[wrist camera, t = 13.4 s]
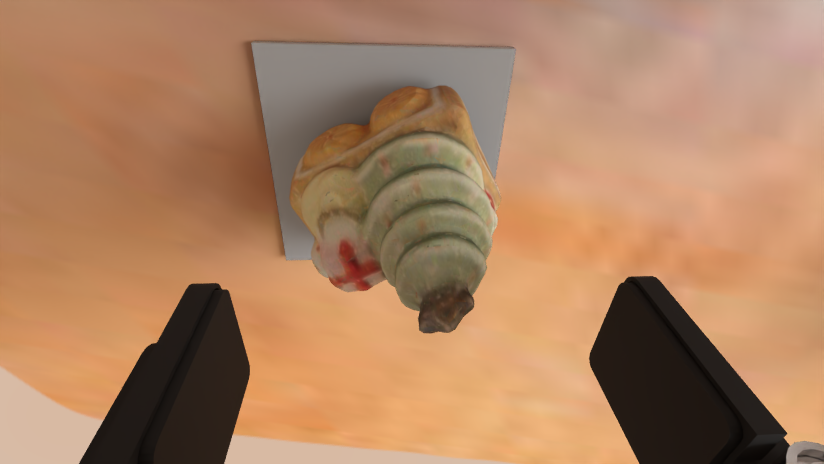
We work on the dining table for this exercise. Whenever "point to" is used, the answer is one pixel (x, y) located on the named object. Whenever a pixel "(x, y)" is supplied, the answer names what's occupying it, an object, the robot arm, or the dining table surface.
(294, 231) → the grey mat
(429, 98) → the ornament
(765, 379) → the dining table surface
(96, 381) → the dining table surface
